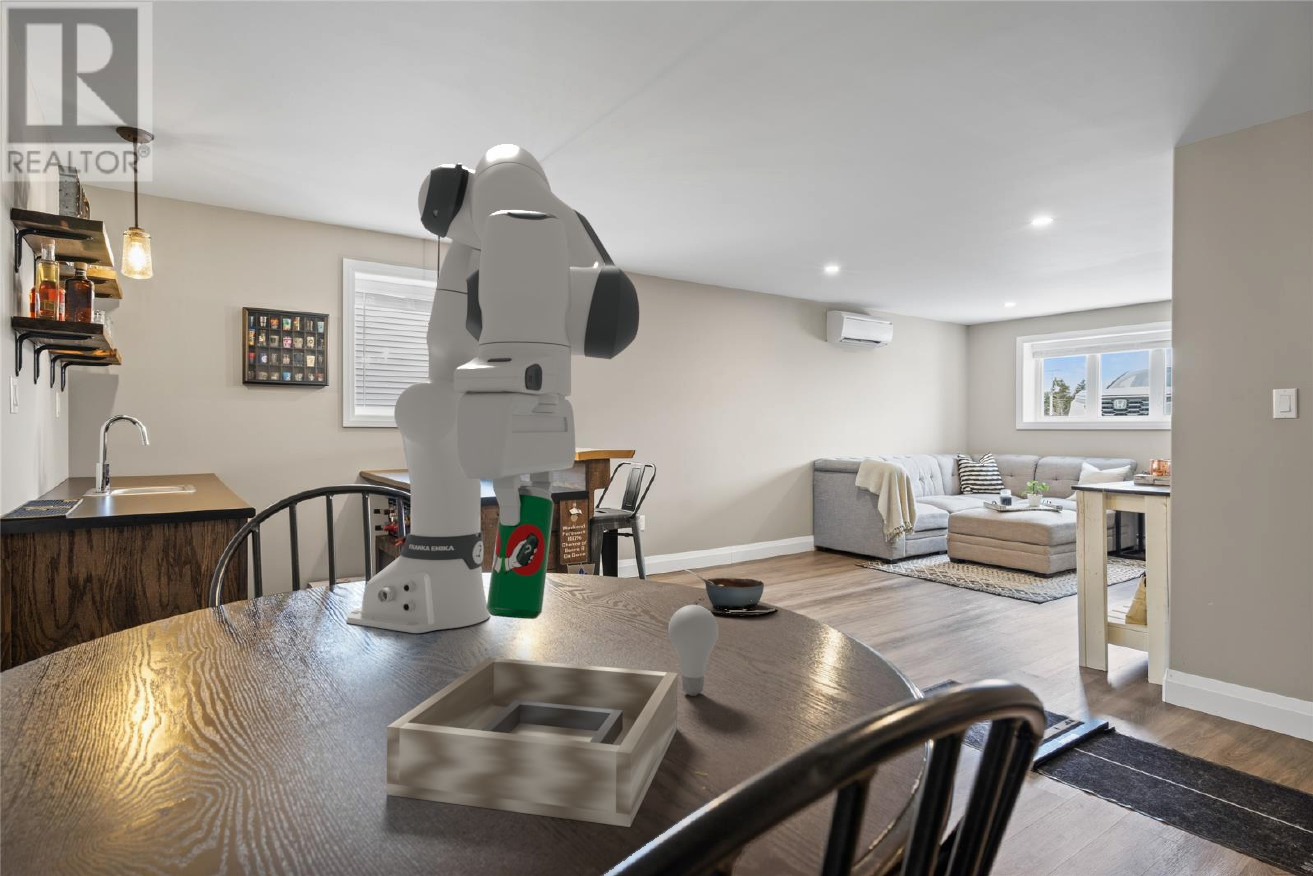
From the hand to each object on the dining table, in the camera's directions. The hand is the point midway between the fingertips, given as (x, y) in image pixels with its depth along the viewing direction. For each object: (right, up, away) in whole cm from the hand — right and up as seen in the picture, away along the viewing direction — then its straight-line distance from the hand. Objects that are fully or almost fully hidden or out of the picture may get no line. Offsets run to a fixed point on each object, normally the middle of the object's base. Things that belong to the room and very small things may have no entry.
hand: (525, 520), depth 70 cm
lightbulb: (+17, -24, +18) cm, 34 cm away
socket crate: (+2, -23, 0) cm, 23 cm away
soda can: (0, -9, -3) cm, 9 cm away
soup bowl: (+26, -23, +60) cm, 69 cm away
